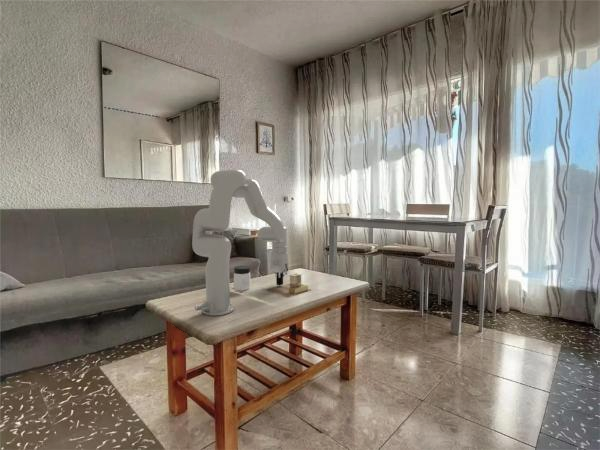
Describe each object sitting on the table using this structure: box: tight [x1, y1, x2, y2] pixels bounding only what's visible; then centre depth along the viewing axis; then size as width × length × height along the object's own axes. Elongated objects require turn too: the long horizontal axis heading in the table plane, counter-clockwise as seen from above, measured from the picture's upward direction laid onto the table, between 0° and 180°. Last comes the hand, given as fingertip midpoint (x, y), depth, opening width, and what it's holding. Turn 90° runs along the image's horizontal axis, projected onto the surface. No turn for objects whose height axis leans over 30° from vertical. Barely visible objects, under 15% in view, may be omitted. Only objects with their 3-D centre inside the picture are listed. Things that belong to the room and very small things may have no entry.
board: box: [265, 283, 313, 298], centre depth 155 cm, size 17×17×1 cm
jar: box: [233, 265, 252, 294], centre depth 158 cm, size 9×8×12 cm
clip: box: [289, 283, 309, 294], centre depth 152 cm, size 9×4×2 cm, turn 134°
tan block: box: [289, 273, 302, 288], centre depth 153 cm, size 4×4×8 cm
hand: (279, 284), depth 162 cm, fingers closed
